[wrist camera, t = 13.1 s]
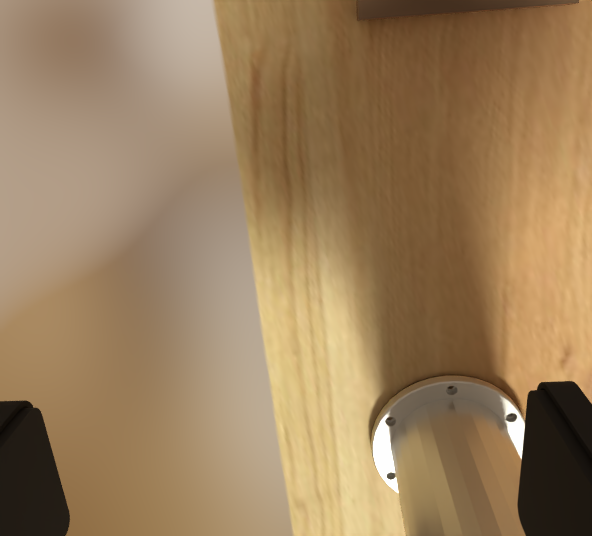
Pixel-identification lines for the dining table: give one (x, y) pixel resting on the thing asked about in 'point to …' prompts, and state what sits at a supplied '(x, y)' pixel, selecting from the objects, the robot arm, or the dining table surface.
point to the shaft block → (442, 7)
